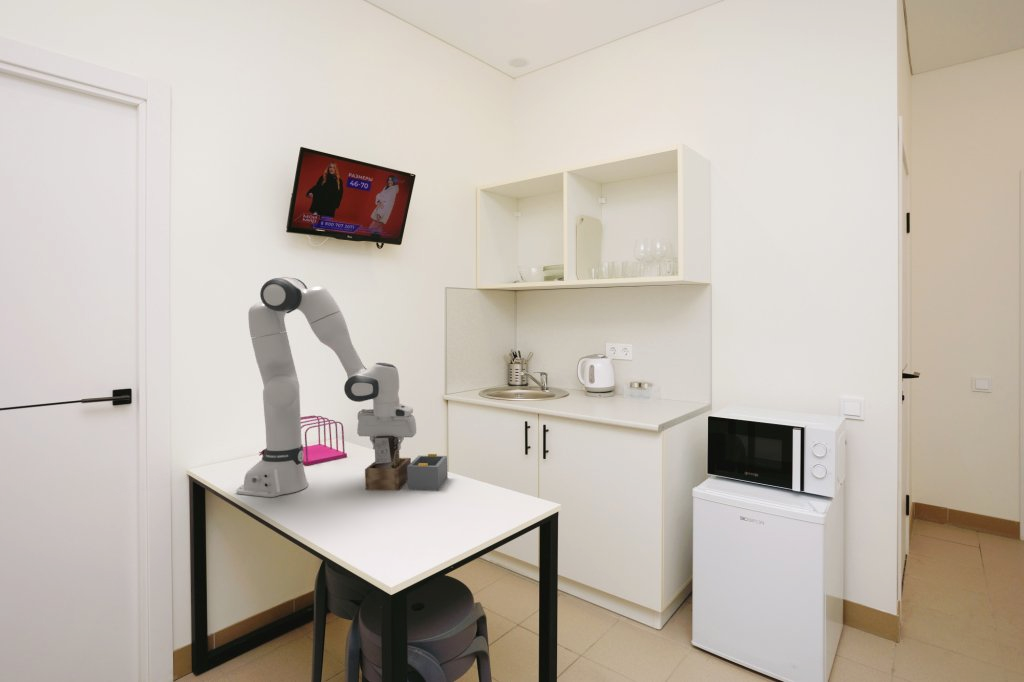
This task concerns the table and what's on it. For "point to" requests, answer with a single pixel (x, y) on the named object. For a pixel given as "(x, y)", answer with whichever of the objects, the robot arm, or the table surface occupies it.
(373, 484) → the open wooden box
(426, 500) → the table surface
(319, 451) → the file sorter
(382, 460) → the coffee box
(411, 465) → the frame
